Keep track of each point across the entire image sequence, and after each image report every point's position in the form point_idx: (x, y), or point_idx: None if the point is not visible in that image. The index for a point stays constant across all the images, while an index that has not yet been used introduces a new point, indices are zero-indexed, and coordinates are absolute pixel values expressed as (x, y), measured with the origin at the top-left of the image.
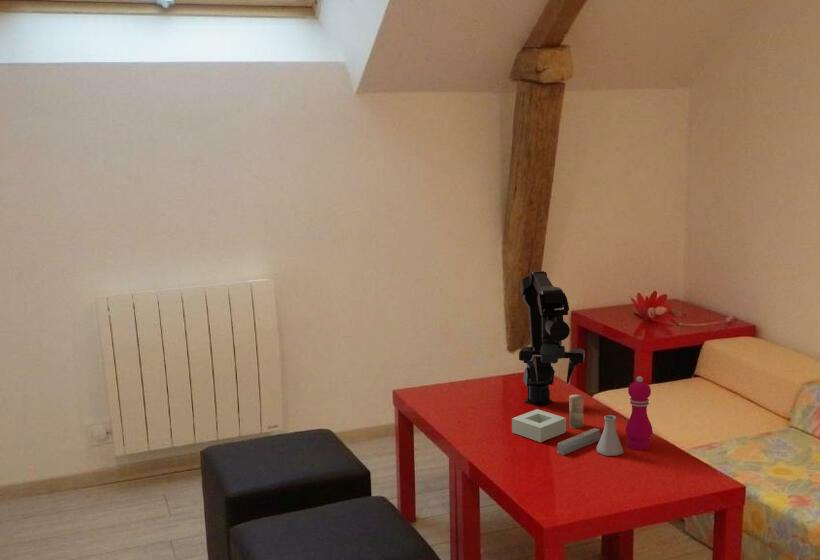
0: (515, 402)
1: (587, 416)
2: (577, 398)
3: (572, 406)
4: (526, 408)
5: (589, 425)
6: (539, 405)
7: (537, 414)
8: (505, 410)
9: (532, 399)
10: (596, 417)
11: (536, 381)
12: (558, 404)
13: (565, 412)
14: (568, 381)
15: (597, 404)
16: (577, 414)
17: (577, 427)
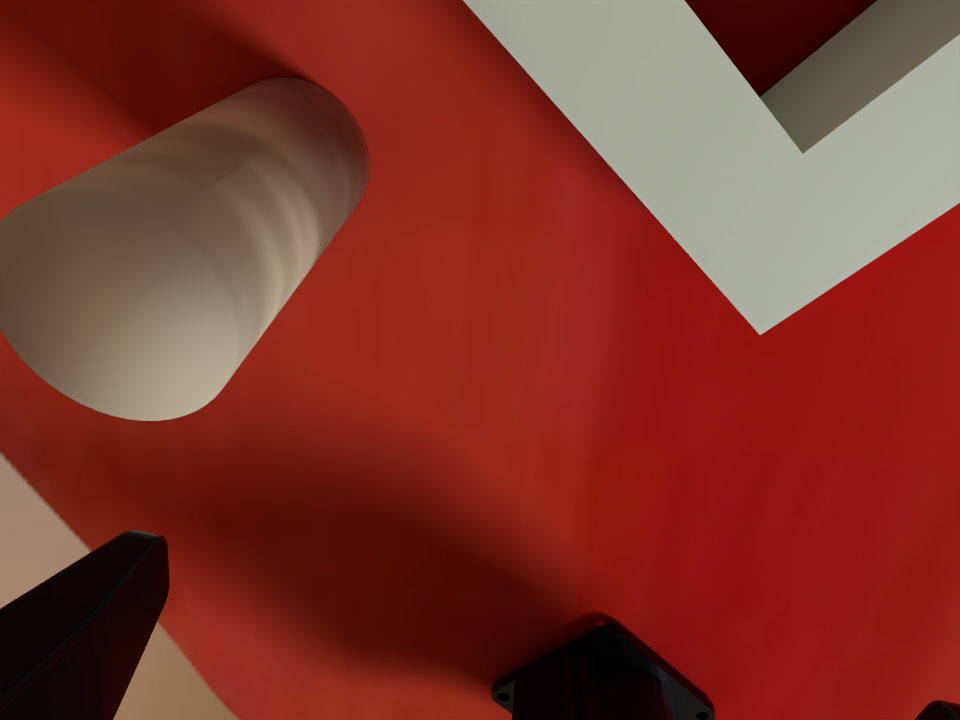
0: (787, 709)
1: None
2: (71, 221)
3: (233, 174)
4: (730, 602)
5: None
6: (610, 628)
7: (809, 143)
8: (939, 585)
9: (662, 702)
10: None
11: (956, 713)
12: (447, 641)
13: (399, 495)
14: (84, 563)
15: None
16: (206, 115)
17: (276, 78)
